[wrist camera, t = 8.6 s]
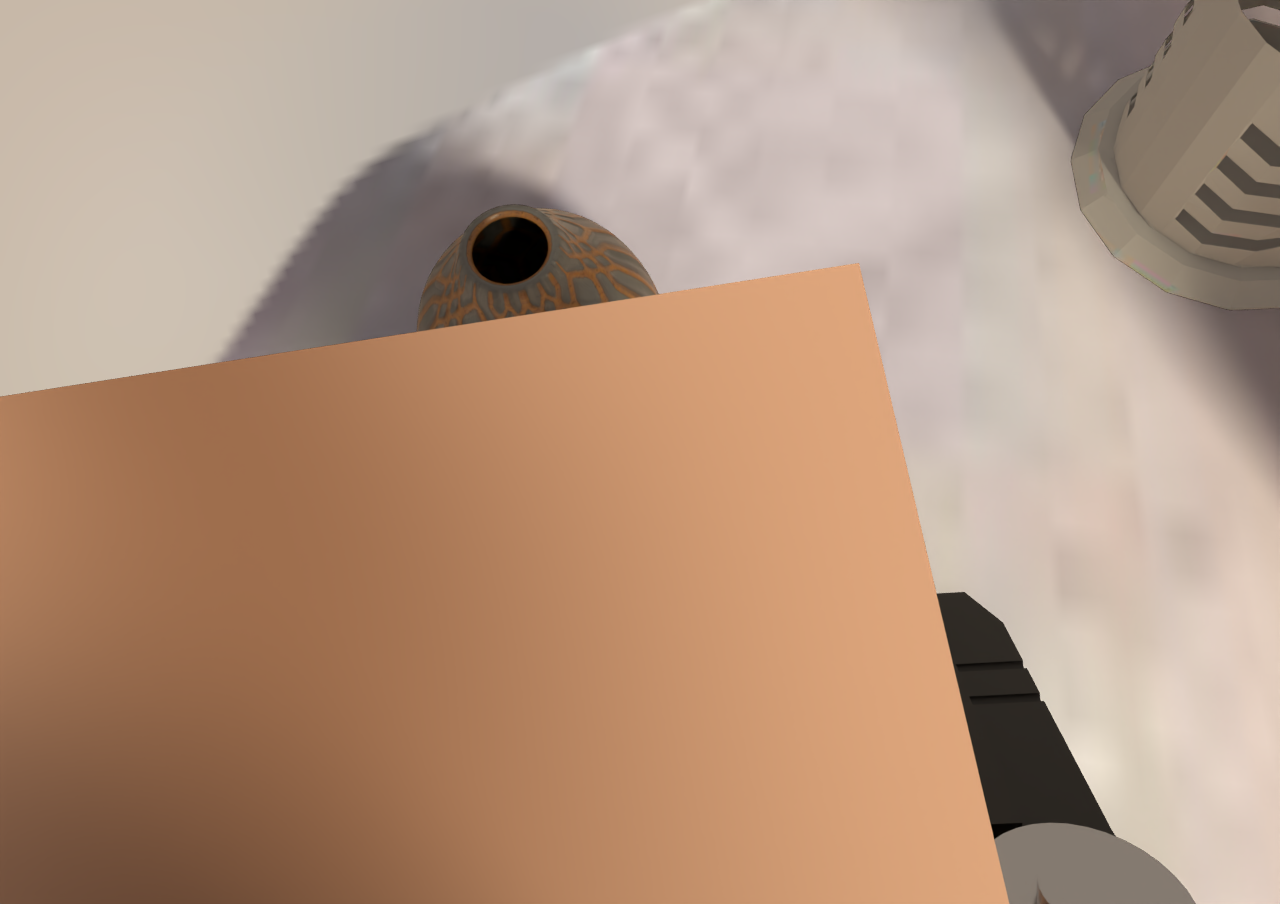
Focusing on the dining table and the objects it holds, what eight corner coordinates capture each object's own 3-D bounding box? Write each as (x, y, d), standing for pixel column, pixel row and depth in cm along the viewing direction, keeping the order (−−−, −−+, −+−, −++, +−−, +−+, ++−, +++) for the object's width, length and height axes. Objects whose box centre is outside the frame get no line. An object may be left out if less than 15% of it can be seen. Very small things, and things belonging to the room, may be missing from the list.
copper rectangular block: (771, 614, 14) (858, 262, 5) (838, 998, 12) (1178, 1634, 3) (436, 662, 14) (-119, 414, 5) (457, 1047, 13) (-327, 1789, 3)
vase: (632, 270, 32) (603, 87, 24) (705, 455, 30) (701, 323, 21) (432, 338, 32) (333, 176, 23) (490, 531, 29) (402, 427, 21)
